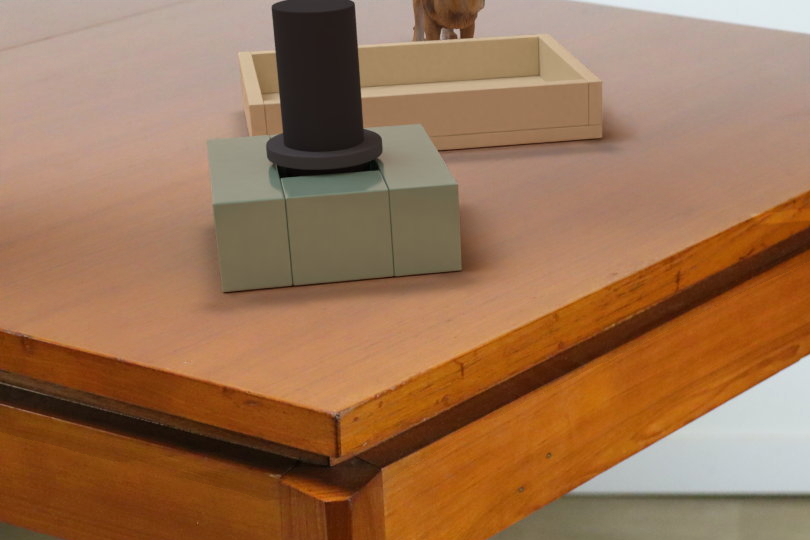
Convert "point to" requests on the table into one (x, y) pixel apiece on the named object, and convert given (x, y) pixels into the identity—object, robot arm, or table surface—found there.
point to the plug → (319, 90)
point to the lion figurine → (445, 18)
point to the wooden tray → (455, 91)
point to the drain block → (333, 215)
